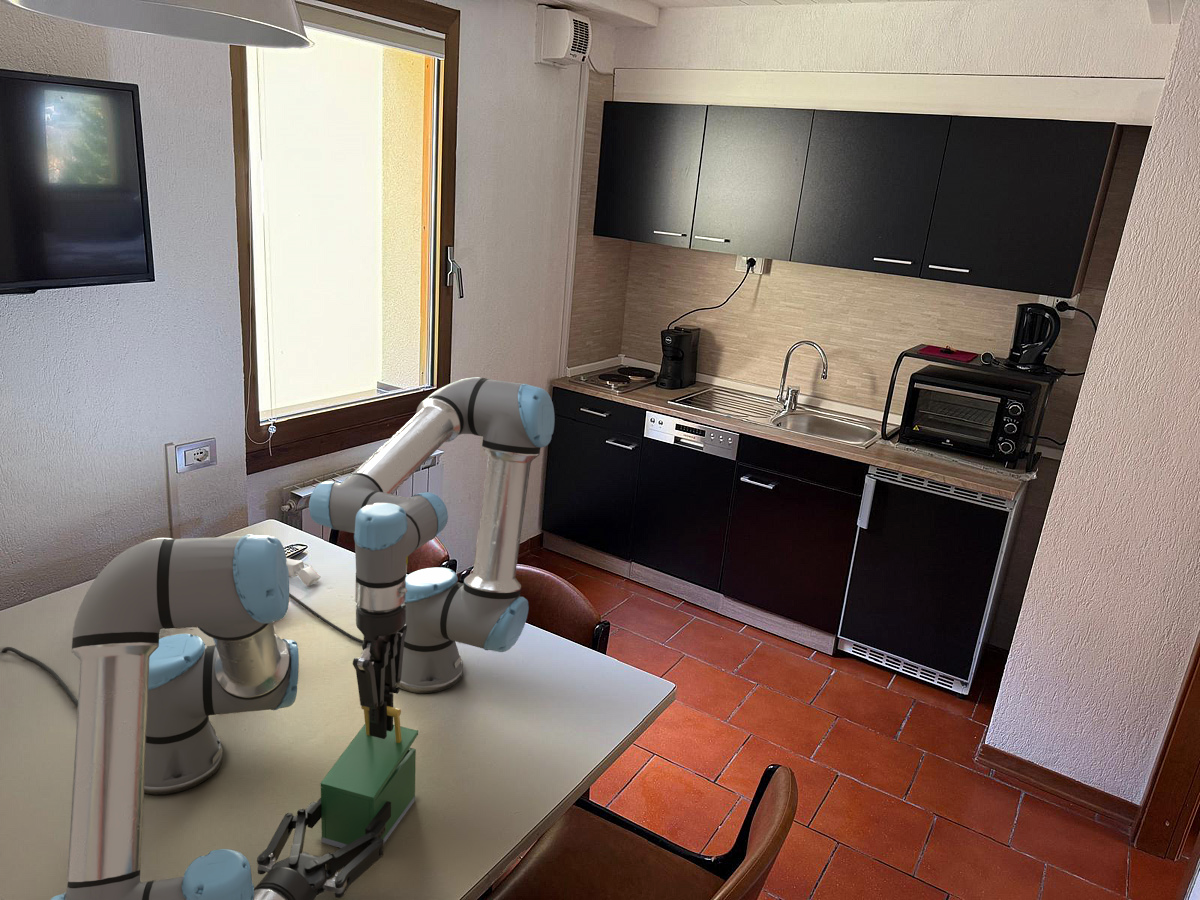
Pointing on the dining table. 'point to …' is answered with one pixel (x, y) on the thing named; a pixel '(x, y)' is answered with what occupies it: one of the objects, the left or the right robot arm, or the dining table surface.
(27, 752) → the dining table surface
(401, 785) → the chest
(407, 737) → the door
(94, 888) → the left robot arm
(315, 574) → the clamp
